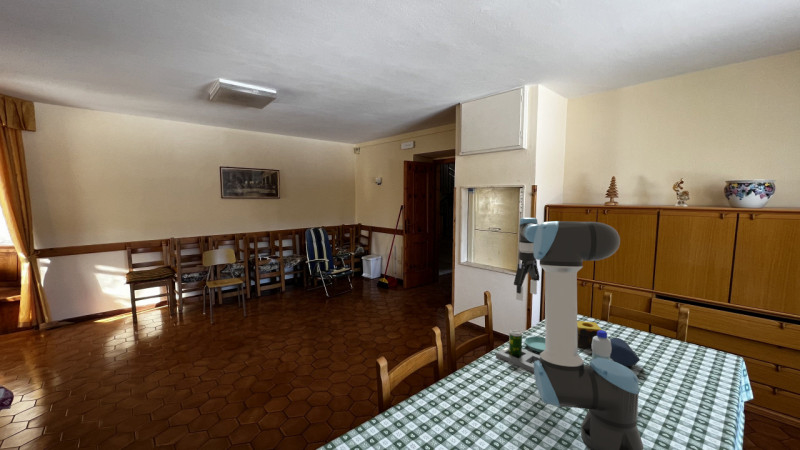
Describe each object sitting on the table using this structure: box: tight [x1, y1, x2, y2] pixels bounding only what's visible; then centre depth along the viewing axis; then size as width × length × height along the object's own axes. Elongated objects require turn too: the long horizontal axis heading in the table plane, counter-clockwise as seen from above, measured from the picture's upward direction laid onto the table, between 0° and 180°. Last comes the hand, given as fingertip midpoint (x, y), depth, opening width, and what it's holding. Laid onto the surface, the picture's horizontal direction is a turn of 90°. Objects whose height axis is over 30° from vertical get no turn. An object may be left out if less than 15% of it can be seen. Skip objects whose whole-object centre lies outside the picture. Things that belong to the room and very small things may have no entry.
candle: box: [577, 320, 602, 350], centre depth 155 cm, size 10×10×10 cm
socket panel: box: [495, 344, 540, 373], centre depth 139 cm, size 12×22×2 cm, turn 41°
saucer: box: [524, 336, 545, 354], centre depth 152 cm, size 15×15×3 cm
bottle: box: [591, 329, 612, 360], centre depth 123 cm, size 7×7×20 cm
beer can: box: [508, 328, 523, 358], centre depth 142 cm, size 5×5×12 cm
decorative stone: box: [609, 337, 641, 367], centre depth 136 cm, size 12×12×10 cm
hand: (526, 296), depth 146 cm, fingers open, 13 cm apart
